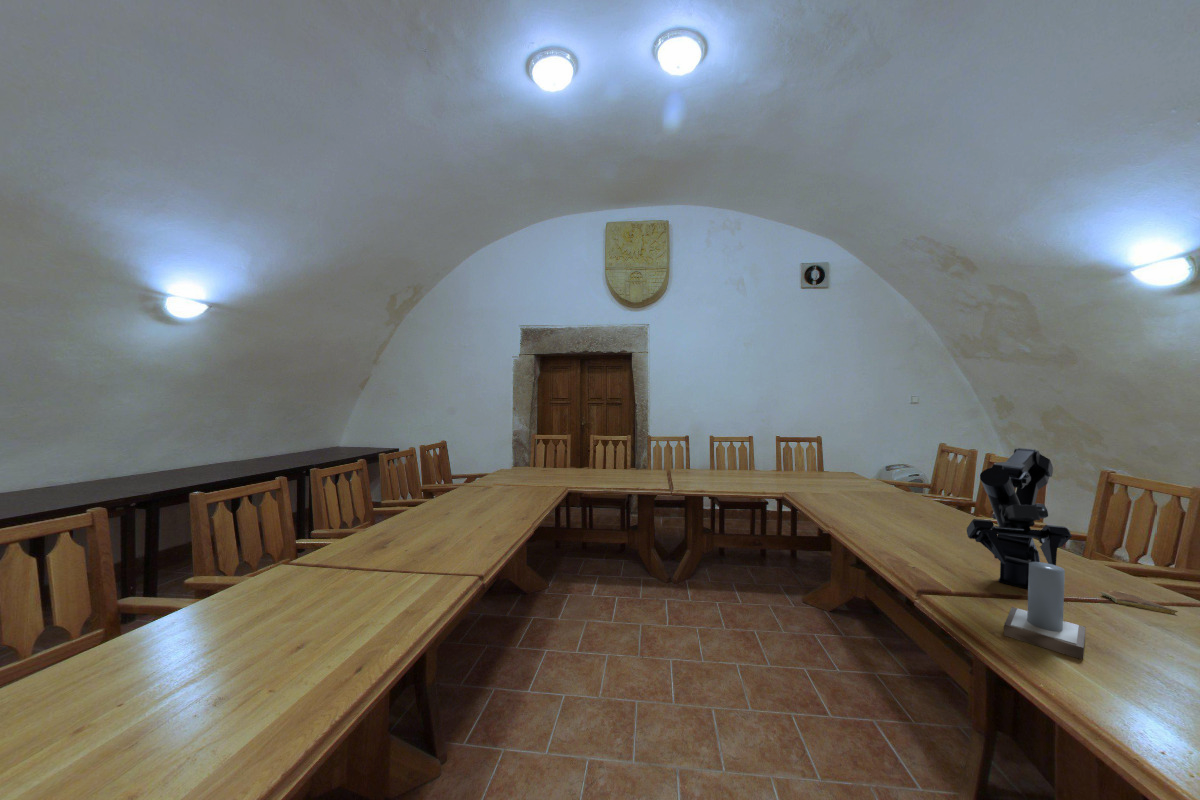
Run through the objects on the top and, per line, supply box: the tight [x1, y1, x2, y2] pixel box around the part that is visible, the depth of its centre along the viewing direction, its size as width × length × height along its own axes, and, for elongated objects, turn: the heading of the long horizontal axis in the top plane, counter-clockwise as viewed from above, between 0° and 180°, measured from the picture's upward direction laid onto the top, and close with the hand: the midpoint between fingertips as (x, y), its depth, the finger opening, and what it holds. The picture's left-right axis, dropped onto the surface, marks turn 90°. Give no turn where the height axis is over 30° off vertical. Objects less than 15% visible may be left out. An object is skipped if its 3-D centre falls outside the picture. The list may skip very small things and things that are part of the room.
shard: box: [1100, 590, 1179, 615], centre depth 114 cm, size 11×8×2 cm
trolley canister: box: [1027, 561, 1066, 632], centre depth 99 cm, size 6×6×13 cm
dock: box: [1003, 606, 1086, 661], centre depth 99 cm, size 12×12×3 cm
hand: (1028, 565), depth 106 cm, fingers open, 9 cm apart
